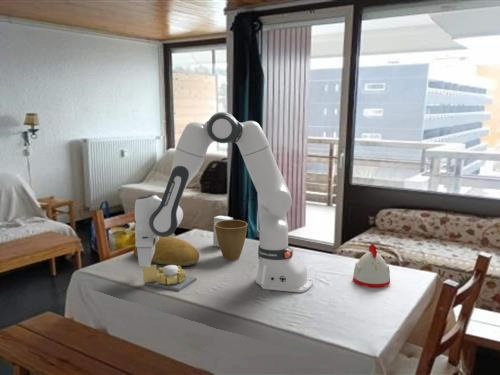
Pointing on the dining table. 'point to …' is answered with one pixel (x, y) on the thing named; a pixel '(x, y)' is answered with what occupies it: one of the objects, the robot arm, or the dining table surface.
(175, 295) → the dining table surface
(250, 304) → the dining table surface
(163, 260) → the bread
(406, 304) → the dining table surface
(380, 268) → the white knit hat
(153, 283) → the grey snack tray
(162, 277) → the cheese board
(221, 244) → the plant pot
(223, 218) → the skincare box
